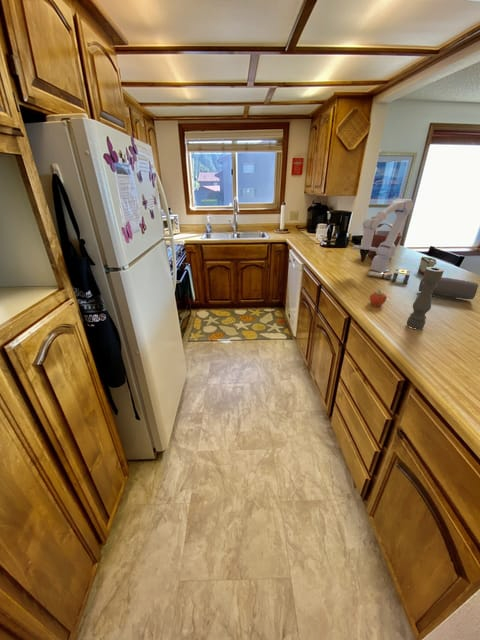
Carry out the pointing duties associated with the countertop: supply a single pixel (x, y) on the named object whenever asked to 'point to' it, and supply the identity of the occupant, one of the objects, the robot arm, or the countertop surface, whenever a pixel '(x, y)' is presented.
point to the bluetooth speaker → (453, 288)
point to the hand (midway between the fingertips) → (362, 261)
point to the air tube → (380, 275)
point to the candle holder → (424, 297)
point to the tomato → (377, 298)
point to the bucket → (381, 239)
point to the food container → (426, 264)
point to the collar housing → (401, 273)
